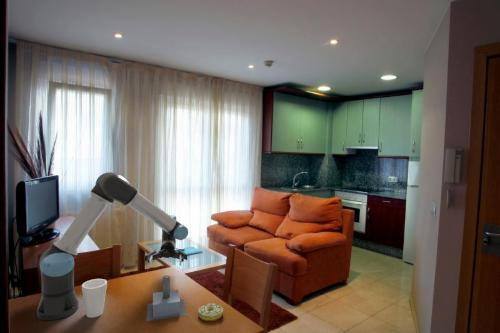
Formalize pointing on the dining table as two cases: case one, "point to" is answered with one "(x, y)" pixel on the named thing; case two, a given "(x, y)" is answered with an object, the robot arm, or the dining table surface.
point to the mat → (150, 316)
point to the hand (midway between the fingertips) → (165, 263)
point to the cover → (166, 301)
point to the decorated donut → (210, 312)
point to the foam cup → (94, 296)
